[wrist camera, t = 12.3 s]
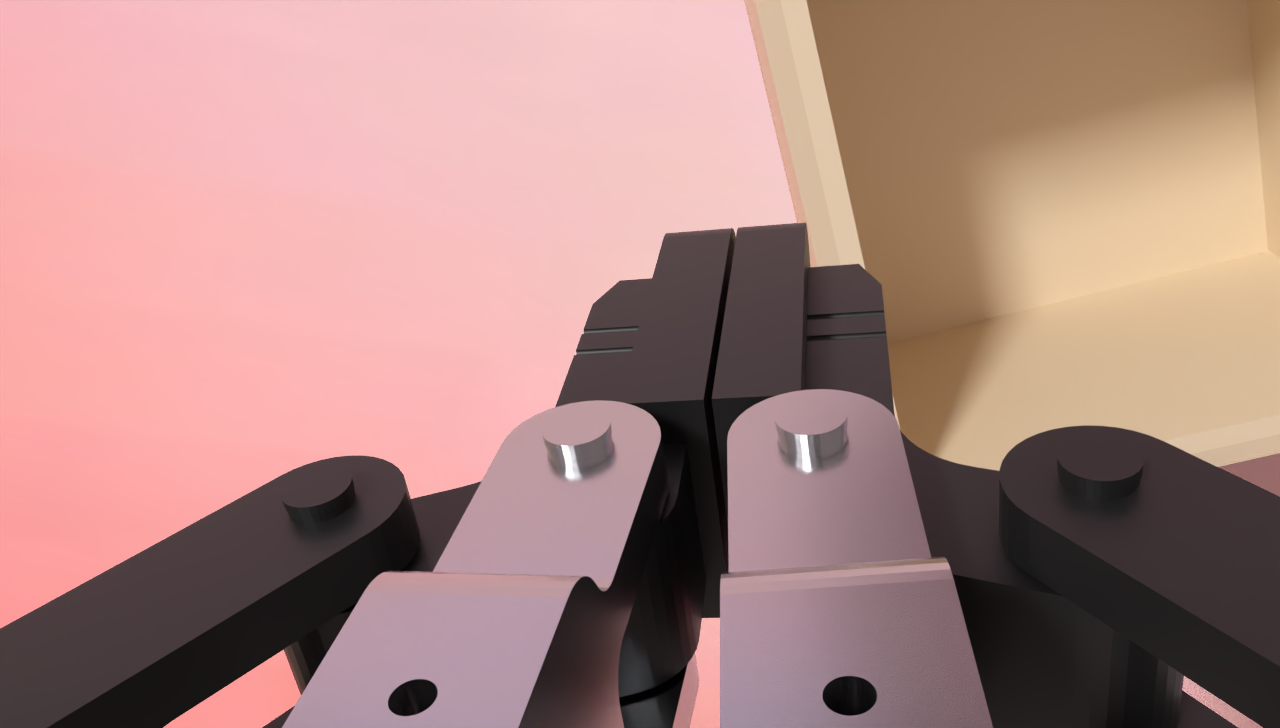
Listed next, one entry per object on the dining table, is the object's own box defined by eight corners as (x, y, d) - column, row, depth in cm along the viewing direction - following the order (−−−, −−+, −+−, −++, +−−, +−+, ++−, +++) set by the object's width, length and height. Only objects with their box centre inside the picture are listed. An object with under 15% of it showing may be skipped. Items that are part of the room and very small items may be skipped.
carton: (831, 378, 45) (881, 541, 34) (720, -83, 39) (739, -65, 28) (1277, 269, 43) (1485, 407, 32) (1236, -237, 37) (1476, -282, 26)
